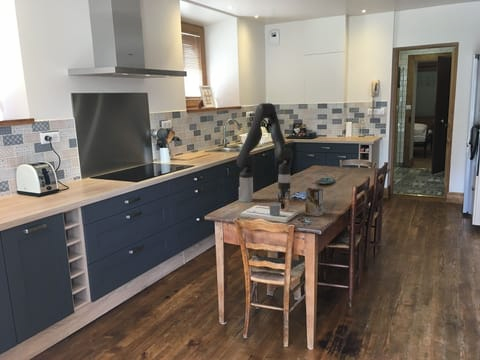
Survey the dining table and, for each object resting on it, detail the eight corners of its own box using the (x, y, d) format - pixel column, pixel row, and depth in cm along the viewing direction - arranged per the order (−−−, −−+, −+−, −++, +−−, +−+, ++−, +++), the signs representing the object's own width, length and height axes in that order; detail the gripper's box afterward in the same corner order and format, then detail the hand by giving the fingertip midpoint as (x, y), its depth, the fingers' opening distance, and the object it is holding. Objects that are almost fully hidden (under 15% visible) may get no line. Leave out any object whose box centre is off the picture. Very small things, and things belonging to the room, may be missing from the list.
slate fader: (269, 214, 246) (269, 205, 245) (272, 213, 249) (272, 203, 248) (277, 215, 244) (277, 206, 243) (279, 214, 247) (279, 204, 246)
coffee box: (323, 214, 255) (323, 188, 252) (318, 216, 250) (319, 190, 247) (309, 212, 260) (309, 187, 257) (305, 214, 255) (305, 189, 252)
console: (241, 215, 254) (240, 212, 254) (255, 208, 271) (255, 205, 271) (286, 222, 240) (286, 218, 239) (298, 213, 257) (298, 210, 256)
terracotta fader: (279, 210, 256) (279, 200, 255) (281, 208, 259) (281, 199, 258) (286, 211, 254) (286, 201, 253) (288, 209, 257) (288, 200, 256)
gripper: (283, 178, 261) (283, 204, 264) (273, 182, 249) (273, 210, 252) (294, 179, 257) (294, 205, 261) (285, 183, 245) (285, 211, 248)
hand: (284, 207), depth 256 cm, fingers open, 4 cm apart
